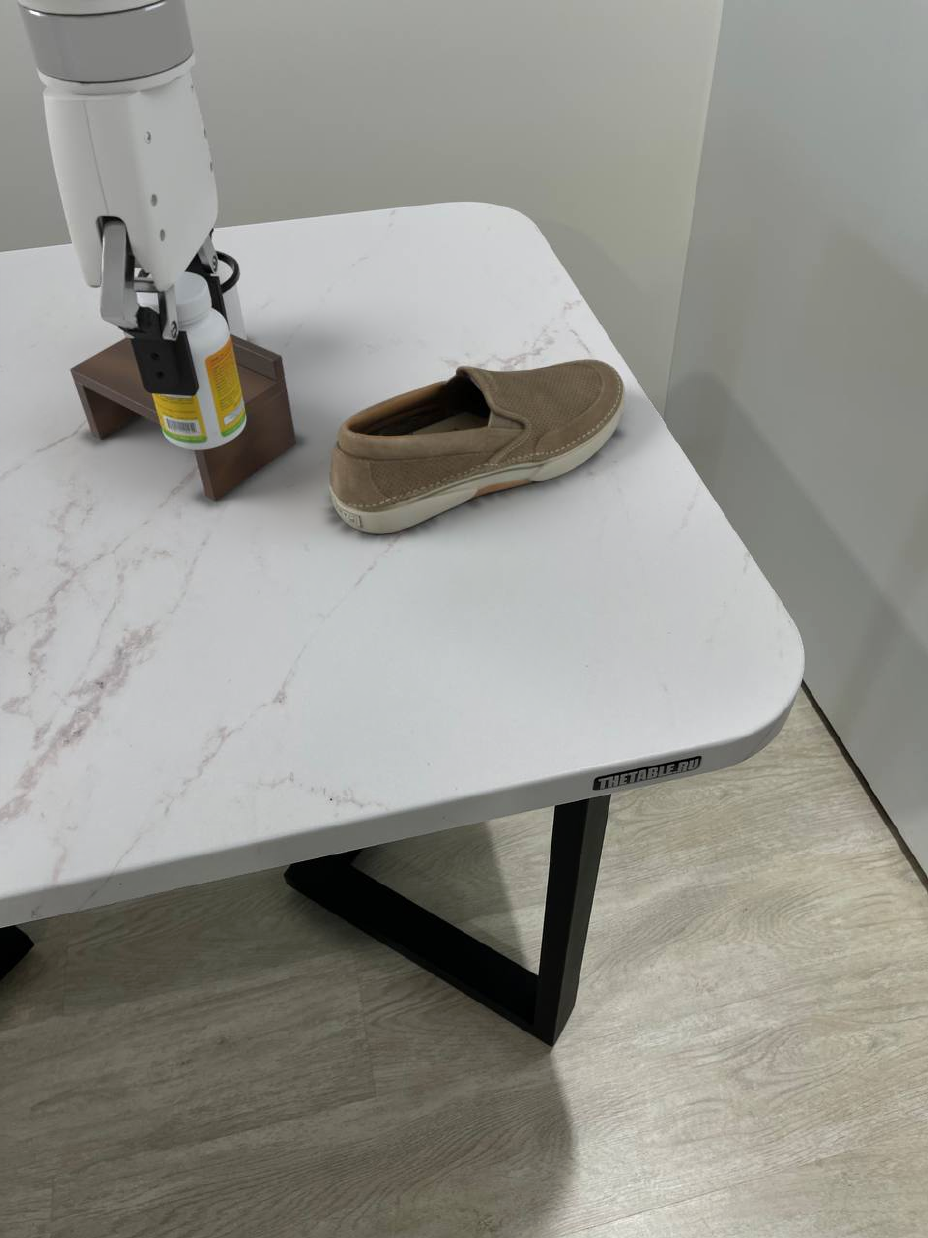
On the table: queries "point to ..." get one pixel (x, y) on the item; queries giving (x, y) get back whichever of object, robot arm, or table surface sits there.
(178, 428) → the supplement bottle
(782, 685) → the table surface
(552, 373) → the slip on shoe
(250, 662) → the table surface
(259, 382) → the shelf
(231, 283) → the mug
